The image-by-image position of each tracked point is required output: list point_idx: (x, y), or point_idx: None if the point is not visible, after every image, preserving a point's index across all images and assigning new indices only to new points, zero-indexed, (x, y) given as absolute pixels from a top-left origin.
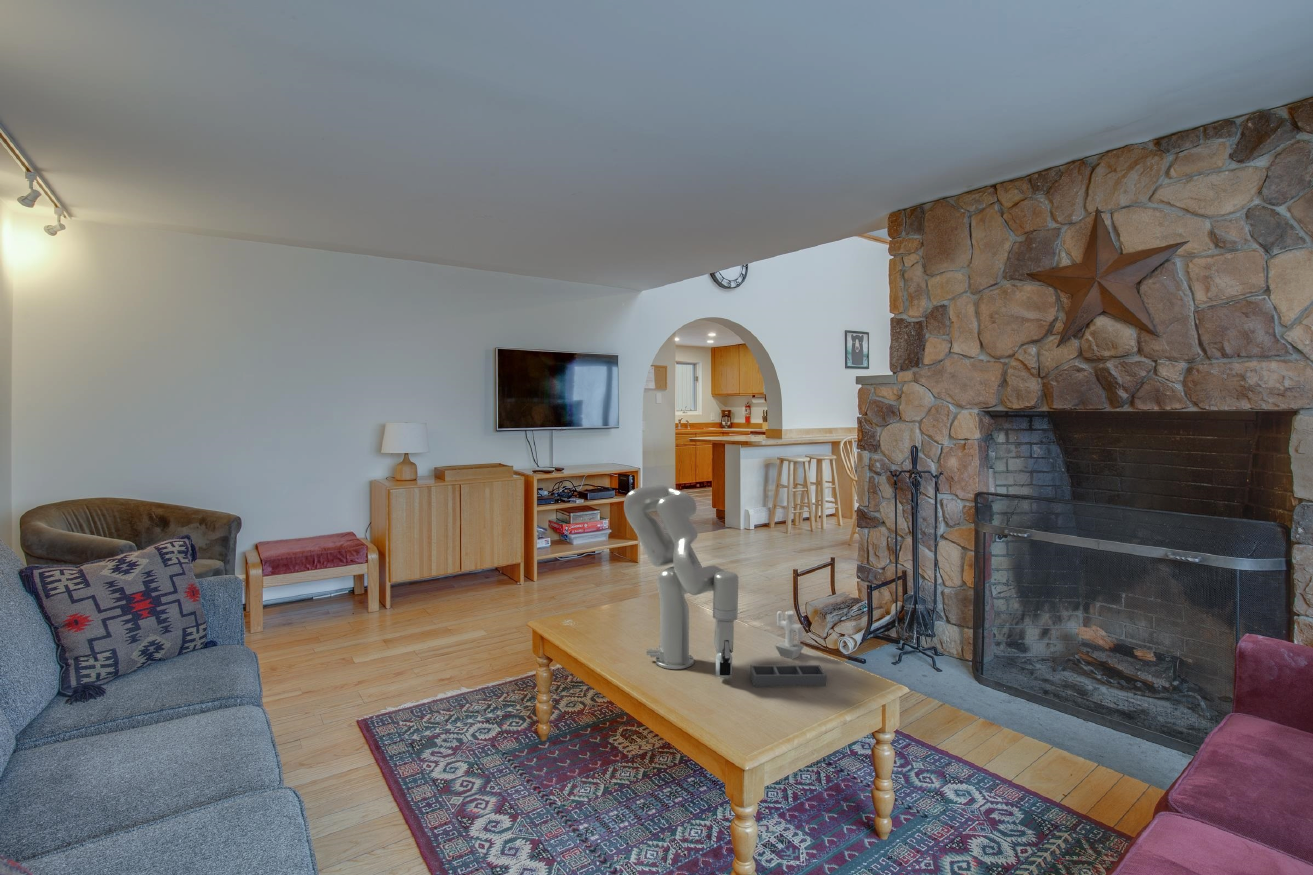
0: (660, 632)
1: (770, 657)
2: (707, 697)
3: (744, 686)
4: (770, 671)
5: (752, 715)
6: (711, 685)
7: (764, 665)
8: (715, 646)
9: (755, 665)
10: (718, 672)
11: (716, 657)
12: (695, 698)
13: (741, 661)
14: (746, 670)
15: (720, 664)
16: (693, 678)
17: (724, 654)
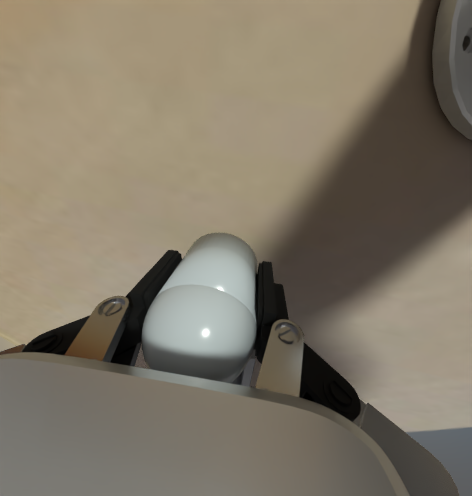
0: None
1: (364, 390)
2: (64, 156)
3: None
4: (241, 374)
5: (7, 271)
6: (181, 196)
7: (249, 384)
8: (110, 404)
9: (252, 369)
10: (191, 248)
11: (183, 292)
12: (31, 88)
13: (373, 334)
14: None
15: (140, 284)
16: (263, 111)
17: (145, 360)
